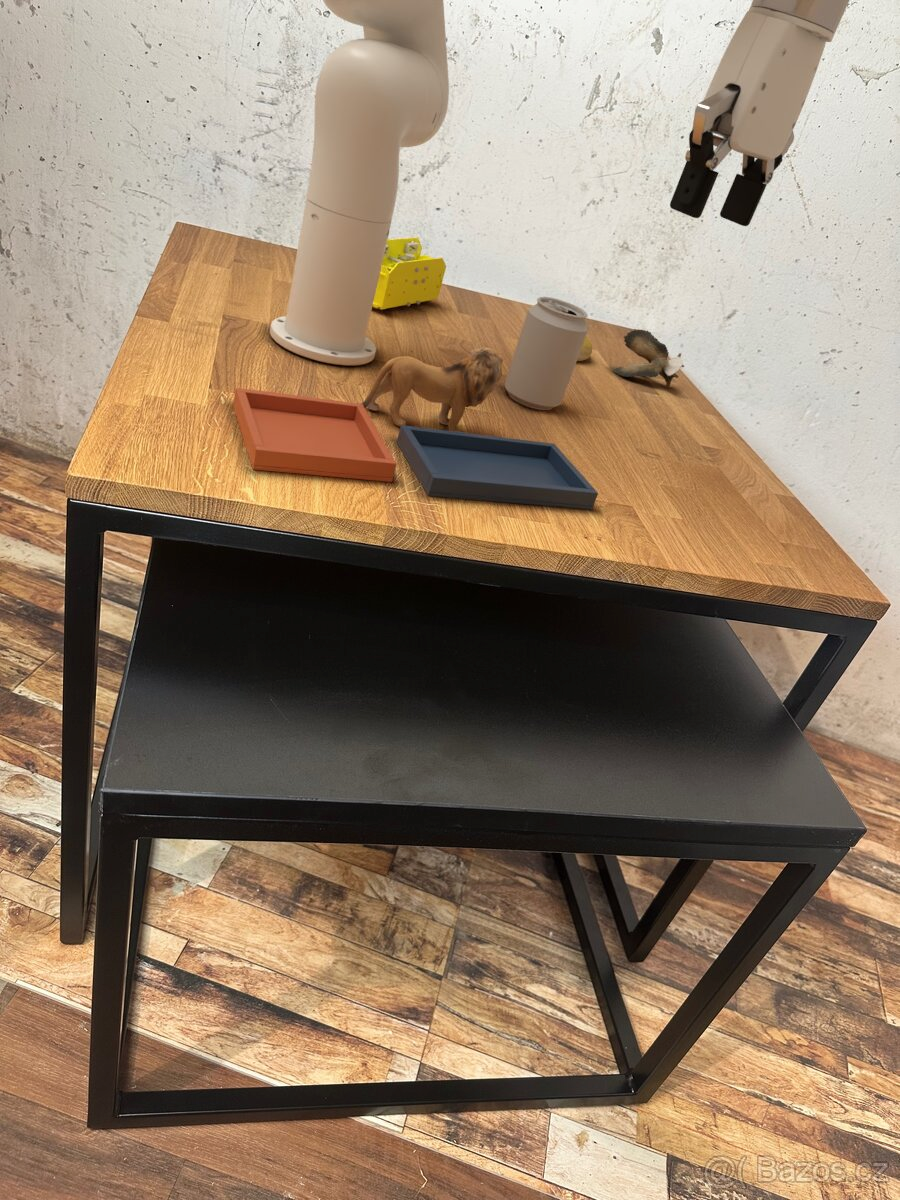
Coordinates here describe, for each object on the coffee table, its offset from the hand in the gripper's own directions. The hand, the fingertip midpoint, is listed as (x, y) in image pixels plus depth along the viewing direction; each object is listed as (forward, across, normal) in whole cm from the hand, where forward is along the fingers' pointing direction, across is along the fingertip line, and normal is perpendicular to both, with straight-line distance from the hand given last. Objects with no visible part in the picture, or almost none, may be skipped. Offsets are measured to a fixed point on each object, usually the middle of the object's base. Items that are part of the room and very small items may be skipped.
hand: (709, 217), depth 83 cm
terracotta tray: (+27, +32, -12) cm, 44 cm away
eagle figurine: (+27, -35, -18) cm, 48 cm away
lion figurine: (+27, +16, -14) cm, 34 cm away
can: (+27, -5, -16) cm, 32 cm away
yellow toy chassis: (+27, -10, -48) cm, 56 cm away
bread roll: (+27, -28, -29) cm, 49 cm away
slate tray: (+27, +17, -2) cm, 32 cm away
